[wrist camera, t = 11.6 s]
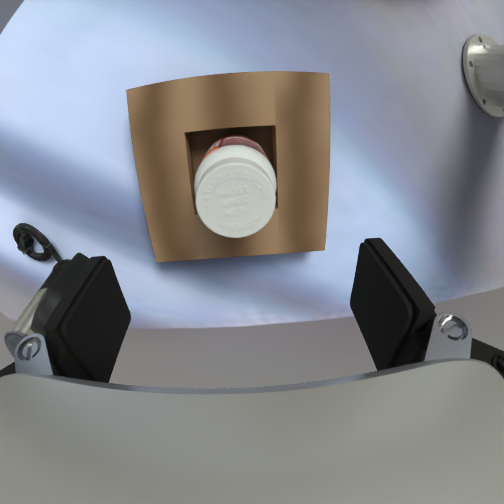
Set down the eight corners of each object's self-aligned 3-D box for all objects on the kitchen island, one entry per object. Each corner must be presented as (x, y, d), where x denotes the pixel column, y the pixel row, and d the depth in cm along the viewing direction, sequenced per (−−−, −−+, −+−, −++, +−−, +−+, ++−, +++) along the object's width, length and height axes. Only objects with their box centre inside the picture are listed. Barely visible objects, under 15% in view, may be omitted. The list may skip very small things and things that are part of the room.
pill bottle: (210, 129, 25) (192, 146, 15) (272, 140, 26) (294, 164, 16) (201, 187, 28) (182, 237, 18) (259, 196, 29) (271, 250, 19)
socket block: (317, 76, 24) (329, 73, 20) (315, 233, 33) (324, 250, 29) (140, 90, 23) (126, 90, 20) (164, 244, 32) (156, 262, 29)
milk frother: (102, 317, 38) (70, 394, 25) (25, 283, 34) (-20, 345, 22) (110, 241, 32) (56, 323, 19) (20, 206, 28) (-48, 263, 15)
